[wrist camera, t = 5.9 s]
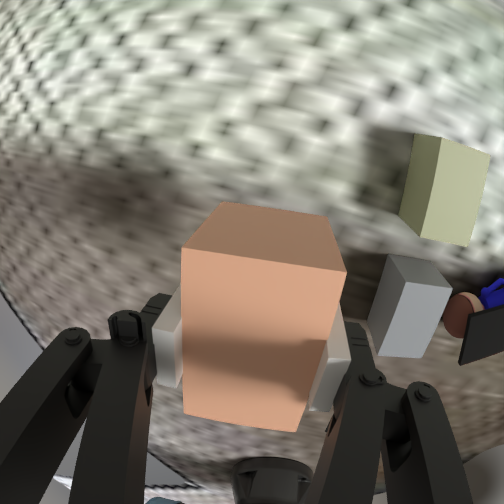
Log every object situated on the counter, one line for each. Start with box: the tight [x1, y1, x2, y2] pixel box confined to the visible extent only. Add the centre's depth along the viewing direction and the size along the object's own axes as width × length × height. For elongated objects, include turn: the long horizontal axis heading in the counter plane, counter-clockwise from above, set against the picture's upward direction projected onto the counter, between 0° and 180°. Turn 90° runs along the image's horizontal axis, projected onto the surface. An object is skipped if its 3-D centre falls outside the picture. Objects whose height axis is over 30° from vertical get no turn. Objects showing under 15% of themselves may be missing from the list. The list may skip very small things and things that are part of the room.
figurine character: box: [443, 278, 504, 366], centre depth 27 cm, size 7×8×15 cm
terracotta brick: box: [181, 201, 347, 432], centre depth 14 cm, size 8×5×6 cm, turn 174°
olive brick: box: [398, 134, 490, 247], centre depth 23 cm, size 8×5×6 cm, turn 174°
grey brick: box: [367, 254, 453, 358], centre depth 28 cm, size 8×5×6 cm, turn 174°
